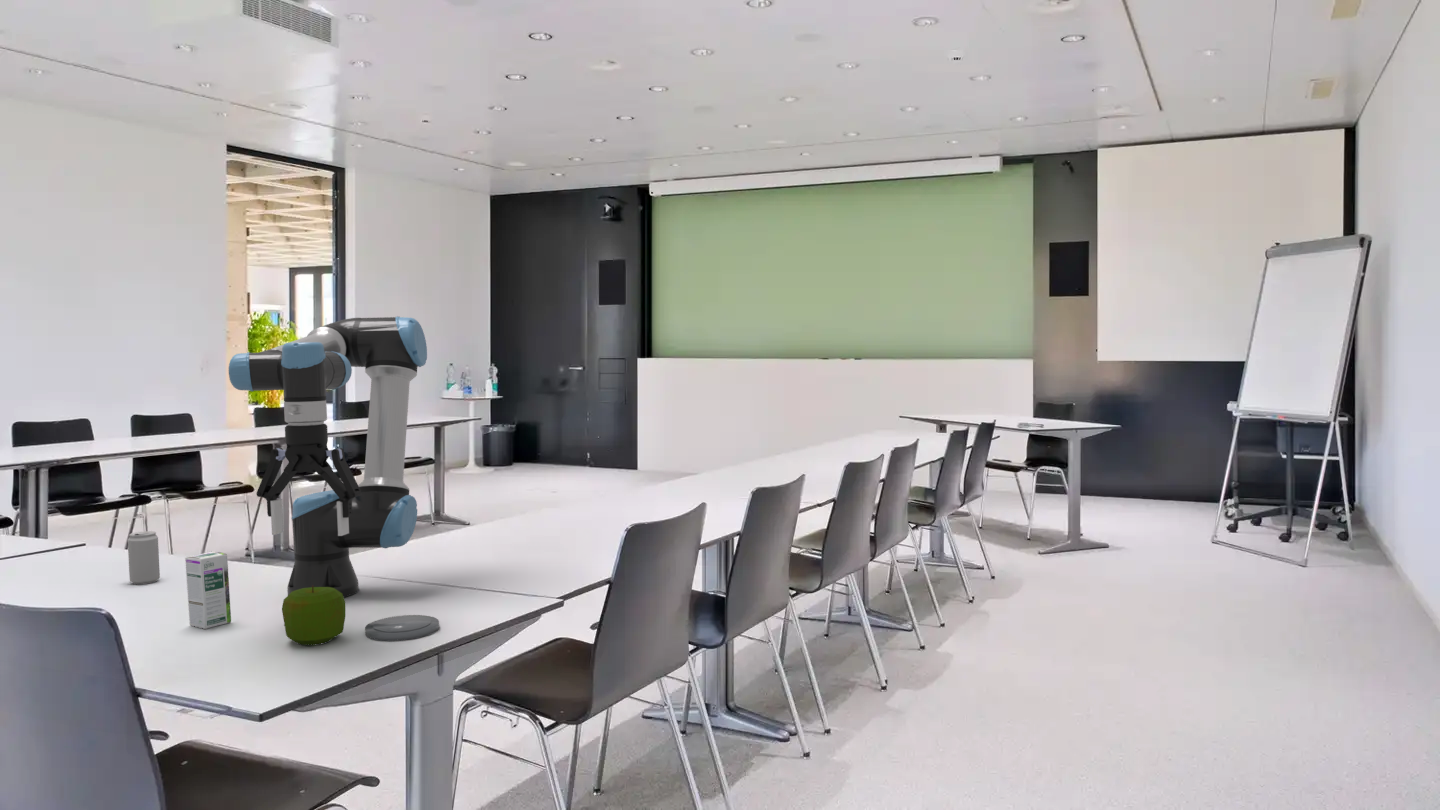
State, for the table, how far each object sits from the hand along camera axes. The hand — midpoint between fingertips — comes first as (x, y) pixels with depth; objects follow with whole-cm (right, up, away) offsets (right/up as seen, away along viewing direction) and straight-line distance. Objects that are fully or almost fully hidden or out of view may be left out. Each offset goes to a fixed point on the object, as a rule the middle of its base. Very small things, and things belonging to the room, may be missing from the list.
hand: (310, 534), depth 197 cm
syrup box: (-26, -20, +14) cm, 36 cm away
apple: (0, -21, +2) cm, 21 cm away
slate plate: (+15, -20, +7) cm, 26 cm away
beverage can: (-60, -18, +52) cm, 82 cm away
